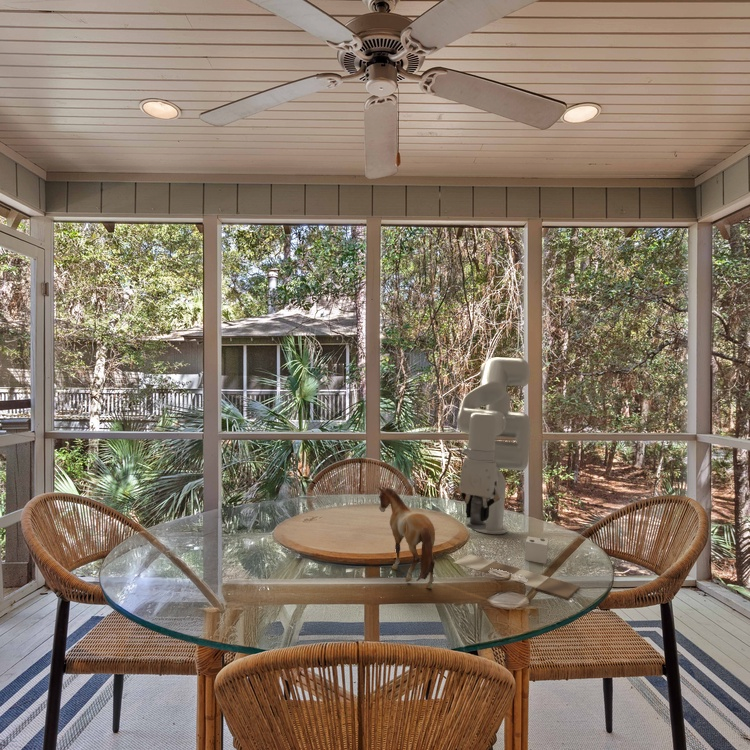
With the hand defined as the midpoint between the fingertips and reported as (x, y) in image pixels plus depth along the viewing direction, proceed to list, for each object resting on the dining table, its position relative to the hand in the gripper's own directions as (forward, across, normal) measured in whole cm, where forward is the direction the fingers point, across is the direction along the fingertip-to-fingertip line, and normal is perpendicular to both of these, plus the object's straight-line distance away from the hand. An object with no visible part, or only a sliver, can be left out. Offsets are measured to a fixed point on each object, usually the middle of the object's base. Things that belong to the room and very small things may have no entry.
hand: (476, 517), depth 150 cm
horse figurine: (+13, -10, -25) cm, 30 cm away
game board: (+13, +12, -1) cm, 18 cm away
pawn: (+2, 0, 0) cm, 2 cm away
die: (+13, +12, +16) cm, 24 cm away
